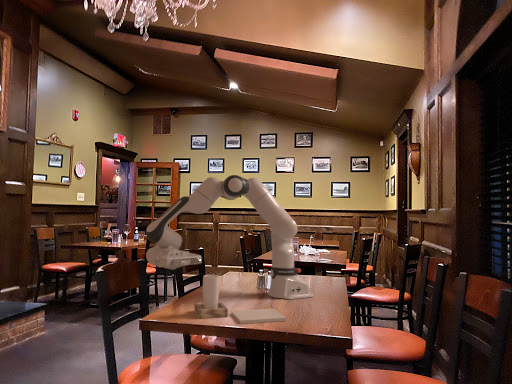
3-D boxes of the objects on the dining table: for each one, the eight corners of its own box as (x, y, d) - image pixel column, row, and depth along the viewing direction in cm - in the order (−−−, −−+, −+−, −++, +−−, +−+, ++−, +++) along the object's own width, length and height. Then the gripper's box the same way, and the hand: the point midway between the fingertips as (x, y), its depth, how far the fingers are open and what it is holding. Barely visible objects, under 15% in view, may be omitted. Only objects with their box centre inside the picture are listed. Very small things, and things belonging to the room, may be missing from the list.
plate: (273, 311, 155) (273, 308, 155) (286, 320, 141) (286, 317, 141) (231, 313, 149) (231, 310, 149) (240, 324, 136) (240, 320, 136)
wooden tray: (221, 309, 156) (221, 302, 156) (227, 316, 145) (227, 308, 145) (194, 311, 153) (194, 303, 153) (198, 318, 142) (198, 310, 142)
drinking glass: (202, 311, 152) (203, 274, 153) (219, 311, 152) (220, 274, 153) (201, 316, 145) (202, 277, 146) (218, 316, 146) (220, 277, 147)
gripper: (152, 253, 159) (172, 256, 150) (189, 250, 175) (209, 253, 166) (151, 268, 159) (171, 272, 150) (189, 264, 174) (209, 268, 165)
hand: (191, 262), depth 158 cm, fingers open, 8 cm apart
